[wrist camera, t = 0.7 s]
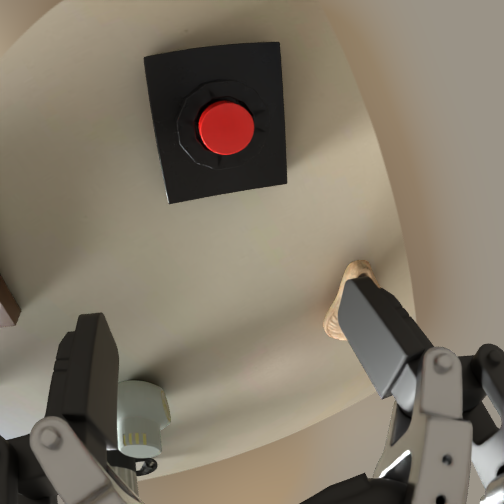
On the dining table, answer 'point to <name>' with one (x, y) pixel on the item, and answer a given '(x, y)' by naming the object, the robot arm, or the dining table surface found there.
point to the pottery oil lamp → (331, 318)
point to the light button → (226, 127)
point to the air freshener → (141, 418)
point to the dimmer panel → (7, 307)
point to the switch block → (204, 94)
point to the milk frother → (129, 467)
